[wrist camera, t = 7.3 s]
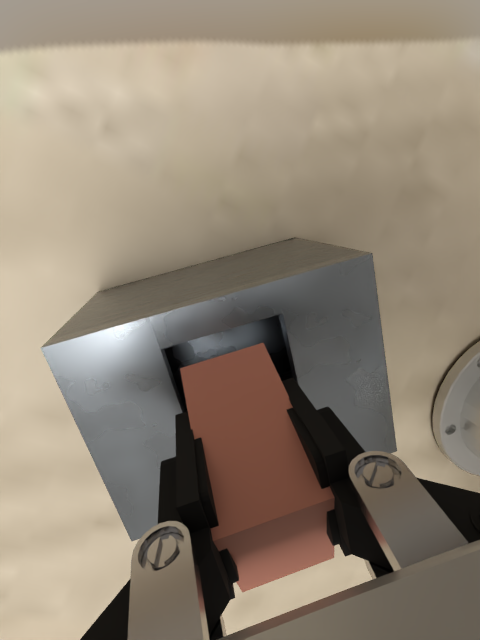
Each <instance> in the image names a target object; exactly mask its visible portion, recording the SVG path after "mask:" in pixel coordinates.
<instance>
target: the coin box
mask: <svg viewBox="0 0 480 640" xmlns="http://www.w3.org/2000/svg"><path fill="white" fill-rule="evenodd" d="M260 343H264V345H265V347H266V349H267V352H268V354H269V356H270V358H271V360H272V362H273V364H274V366H275V368H276V371H277V373H278V375H279V377H280V379H281V381H284V380H287V379H290V378H294V380H295V381H296V382H297V384H298V385H299V386H300V388H301V389H302V391H303V392H304V393H305V395H306V396H307V397H308V399H309V400H310V402H311V403H312V404H313V406H314V407H315V408H316V410H318V409H321V408H324V407H329V408H330V409H331V410H332V411H333V412H334V413H335V415H336V416H337V417H338V418H339V419H340V421H341V422H342V423H343V424H344V426H345V427H346V428H347V429H348V431H349V432H350V433H351V434H352V436H353V437H354V438H355V439H356V441H357V442H358V443H359V444H360V446H361V447H362V448H363V449H364V451H365V452H369V451H383V452H387V453H393V452H396V451H397V448H396V440H395V432H394V424H393V416H392V408H391V400H390V392H389V384H388V376H387V368H386V360H385V352H384V344H383V336H382V328H381V320H380V312H379V304H378V296H377V288H376V280H375V272H374V264H373V256H372V253H369V252H364V251H359V250H354V249H349V248H344V247H339V246H334V245H329V244H324V243H319V242H314V241H309V240H304V239H299V238H292V239H288V240H284V241H281V242H277V243H273V244H270V245H266V246H263V247H259V248H255V249H252V250H248V251H244V252H241V253H237V254H234V255H230V256H226V257H223V258H219V259H216V260H212V261H208V262H205V263H201V264H197V265H194V266H190V267H187V268H183V269H179V270H176V271H172V272H168V273H165V274H161V275H158V276H154V277H150V278H147V279H143V280H140V281H136V282H132V283H129V284H125V285H121V286H118V287H114V288H111V289H107V290H103V291H100V292H97V293H96V294H95V295H94V296H93V297H92V298H91V299H90V300H89V301H88V302H87V303H86V304H85V305H84V306H83V307H82V308H81V309H80V310H79V311H78V312H77V313H76V314H75V315H74V316H73V317H72V318H71V319H70V320H69V321H68V322H67V323H66V324H65V325H64V326H63V327H62V328H61V329H60V330H59V331H58V332H57V333H56V334H55V335H54V336H52V337H51V338H50V339H49V340H48V341H47V342H46V343H45V344H44V345H43V346H42V347H41V350H42V352H43V354H44V356H45V358H46V360H47V362H48V364H49V367H50V369H51V371H52V373H53V375H54V377H55V379H56V382H57V384H58V386H59V388H60V390H61V392H62V394H63V396H64V399H65V401H66V403H67V405H68V407H69V409H70V411H71V413H72V416H73V418H74V420H75V422H76V424H77V426H78V428H79V430H80V433H81V435H82V437H83V439H84V441H85V443H86V445H87V447H88V450H89V452H90V454H91V456H92V458H93V460H94V462H95V464H96V467H97V469H98V471H99V473H100V475H101V477H102V479H103V481H104V484H105V486H106V488H107V490H108V492H109V494H110V496H111V498H112V501H113V503H114V505H115V507H116V509H117V511H118V513H119V516H120V518H121V520H122V522H123V524H124V526H125V528H126V530H127V533H128V535H129V537H130V539H131V541H134V540H137V539H140V538H141V537H142V536H143V535H144V534H145V533H146V532H147V531H148V530H150V529H151V528H152V527H154V526H156V525H158V504H159V484H160V465H161V462H162V461H163V460H166V459H169V458H172V457H175V456H176V428H175V415H177V414H180V413H183V412H186V411H188V410H187V404H186V399H185V393H184V388H183V382H182V377H181V371H180V368H183V367H186V366H189V365H192V364H195V363H199V362H202V361H205V360H208V359H212V358H215V357H218V356H221V355H225V354H228V353H231V352H234V351H238V350H241V349H244V348H247V347H251V346H254V345H257V344H260Z"/></svg>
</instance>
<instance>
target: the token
mask: <svg viewBox="0 0 480 640" xmlns="http://www.w3.org/2000/svg"><path fill="white" fill-rule="evenodd" d="M180 371H181V377H182V382H183V388H184V393H185V399H186V404H187V410H188V415H189V421H190V426H191V429H193V435H194V439H197V438H200V437H201V438H202V443H203V448H204V453H205V458H206V463H207V468H208V473H209V478H210V483H211V488H212V493H213V498H214V503H215V508H216V513H217V518H218V523H219V526H217V527H214V528H211V533H212V539H213V542H214V544H215V545H216V547H217V549H218V551H221V550H223V549H226V548H227V549H228V551H229V553H230V554H231V556H232V558H233V560H234V562H235V564H236V565H237V569H238V575H239V581H237V584H238V586H239V587H240V589H241V590H242V592H245V591H247V590H250V589H252V588H255V587H258V586H260V585H263V584H266V583H268V582H271V581H274V580H276V579H279V578H282V577H284V576H287V575H289V574H292V573H295V572H297V571H300V570H303V569H305V568H308V567H311V566H313V565H316V564H319V563H321V562H324V561H326V560H329V559H332V558H334V546H333V545H332V543H331V542H330V539H329V537H328V535H327V511H330V510H333V509H334V501H335V497H334V495H333V493H332V491H331V488H330V486H329V487H326V488H324V489H321V487H320V484H319V482H318V480H317V478H316V475H315V473H314V471H313V469H312V466H311V464H310V462H309V460H308V457H307V455H306V453H305V451H304V448H303V446H302V444H301V442H300V439H299V437H298V435H297V433H296V430H295V428H294V426H293V424H292V421H291V419H290V417H289V415H288V412H287V409H290V408H293V407H292V405H291V402H290V400H289V396H288V394H287V392H286V390H285V387H284V385H283V383H282V381H281V379H280V377H279V375H278V373H277V371H276V368H275V366H274V364H273V362H272V360H271V358H270V356H269V354H268V352H267V349H266V347H265V345H264V343H260V344H257V345H254V346H251V347H247V348H244V349H241V350H238V351H234V352H231V353H228V354H225V355H221V356H218V357H215V358H212V359H208V360H205V361H202V362H199V363H195V364H192V365H189V366H186V367H183V368H180Z"/></svg>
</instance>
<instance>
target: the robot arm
mask: <svg viewBox="0 0 480 640" xmlns="http://www.w3.org/2000/svg"><path fill="white" fill-rule="evenodd" d="M282 383H283V385H284V387H285V390H286V392H287V394H288V396H289V400H290V402H291V405H292V407H293V408H290V409H287V412H288V415H289V417H290V419H291V421H292V424H293V426H294V428H295V430H296V433H297V435H298V437H299V439H300V442H301V444H302V446H303V448H304V451H305V453H306V455H307V457H308V460H309V462H310V464H311V466H312V469H313V471H314V473H315V475H316V478H317V480H318V482H319V484H320V487H321V489H324V488H326V487H329V486H330V488H331V491H332V493H333V495H334V497H335V501H334V509H333V510H330V511H327V535H328V537H329V539H330V542H331V543H332V545H333V546H334V545H337V544H339V545H340V547H341V549H342V551H343V553H344V555H345V556H348V555H351V554H353V555H355V556H358V557H360V558H363V559H364V560H365V563H366V567H367V569H368V571H369V573H370V575H371V577H372V579H373V580H370V581H368V582H365V583H363V584H360V585H357V586H355V587H352V588H349V589H347V590H344V591H342V592H339V593H336V594H334V595H331V596H329V597H326V598H323V599H321V600H318V601H316V602H313V603H310V604H308V605H305V606H303V607H300V608H297V609H295V610H292V611H290V612H287V613H284V614H282V615H279V616H277V617H274V618H271V619H269V620H266V621H264V622H261V623H259V624H256V625H253V626H251V627H248V628H246V629H243V630H241V631H238V632H235V633H233V634H230V635H228V636H227V635H226V630H225V624H224V620H223V617H222V613H223V611H224V609H225V608H226V606H227V604H228V603H229V601H230V600H231V599H233V598H235V594H234V588H233V583H235V582H237V581H239V575H238V569H237V565H236V564H235V562H234V560H233V558H232V556H231V554H230V553H229V551H228V549H227V548H226V549H223V550H221V551H218V549H217V547H216V545H215V544H214V542H213V539H212V533H211V528H214V527H217V526H219V523H218V518H217V513H216V508H215V503H214V498H213V493H212V488H211V483H210V478H209V473H208V468H207V463H206V458H205V453H204V448H203V443H202V438H201V437H200V438H197V439H194V435H193V429H191V426H190V421H189V415H188V411H186V412H183V413H180V414H177V415H175V428H176V456H175V457H172V458H169V459H166V460H163V461H162V462H161V465H160V484H159V504H158V525H156V526H154V527H152V528H151V529H150V530H148V531H147V532H146V533H145V534H144V535H143V536H142V537H141V539H140V540H139V541H138V542H137V544H136V546H135V548H134V550H133V555H132V560H131V579H130V580H129V581H128V582H127V584H126V585H125V586H124V587H123V588H122V590H121V591H120V592H119V593H118V594H117V596H116V597H115V598H114V599H113V601H112V602H111V603H110V604H109V605H108V607H107V608H106V609H105V610H104V611H103V613H102V614H101V615H100V616H99V617H98V619H97V620H96V621H95V622H94V624H93V625H92V626H91V627H90V628H89V630H88V631H87V632H86V633H85V634H84V636H83V637H82V638H81V639H80V640H480V493H476V492H472V491H468V490H464V489H460V488H456V487H452V486H448V485H444V484H440V483H435V482H431V481H427V480H423V479H419V478H416V477H415V476H414V474H413V473H412V472H411V471H410V470H409V468H408V467H407V466H406V465H405V463H404V462H403V461H401V460H400V459H399V458H398V457H396V456H394V455H392V454H390V453H387V452H383V451H369V452H365V451H364V449H363V448H362V447H361V446H360V444H359V443H358V442H357V441H356V439H355V438H354V437H353V436H352V434H351V433H350V432H349V431H348V429H347V428H346V427H345V426H344V424H343V423H342V422H341V421H340V419H339V418H338V417H337V416H336V415H335V413H334V412H333V411H332V410H331V409H330V408H329V407H324V408H321V409H318V410H316V408H315V407H314V406H313V404H312V403H311V402H310V400H309V399H308V397H307V396H306V395H305V393H304V392H303V391H302V389H301V388H300V386H299V385H298V384H297V382H296V381H295V380H294V378H290V379H287V380H284V381H282ZM433 432H434V435H435V439H436V442H437V444H438V446H439V448H440V450H441V451H442V452H443V453H444V454H445V456H446V457H447V458H448V459H449V460H450V461H452V462H453V463H454V464H455V465H456V466H458V467H459V468H460V469H462V470H464V471H466V472H468V473H470V474H474V475H478V476H480V341H479V342H477V343H476V344H475V345H473V346H472V347H471V348H469V349H468V350H467V351H466V352H465V353H464V354H463V355H462V356H461V357H460V358H459V359H458V360H457V362H456V363H455V364H454V366H453V367H452V368H451V370H450V371H449V372H448V374H447V376H446V377H445V379H444V381H443V383H442V385H441V386H440V389H439V392H438V395H437V397H436V400H435V404H434V410H433Z"/></svg>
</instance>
